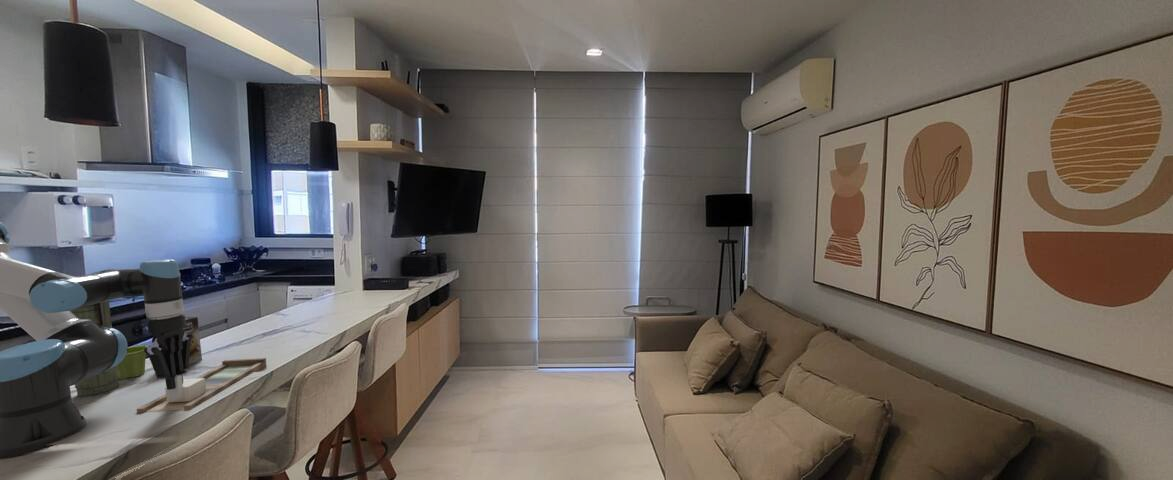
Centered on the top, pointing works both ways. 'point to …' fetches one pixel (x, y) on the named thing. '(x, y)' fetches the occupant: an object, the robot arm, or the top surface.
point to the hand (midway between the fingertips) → (176, 398)
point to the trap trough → (210, 384)
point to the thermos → (108, 379)
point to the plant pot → (132, 362)
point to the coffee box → (193, 339)
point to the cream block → (190, 389)
